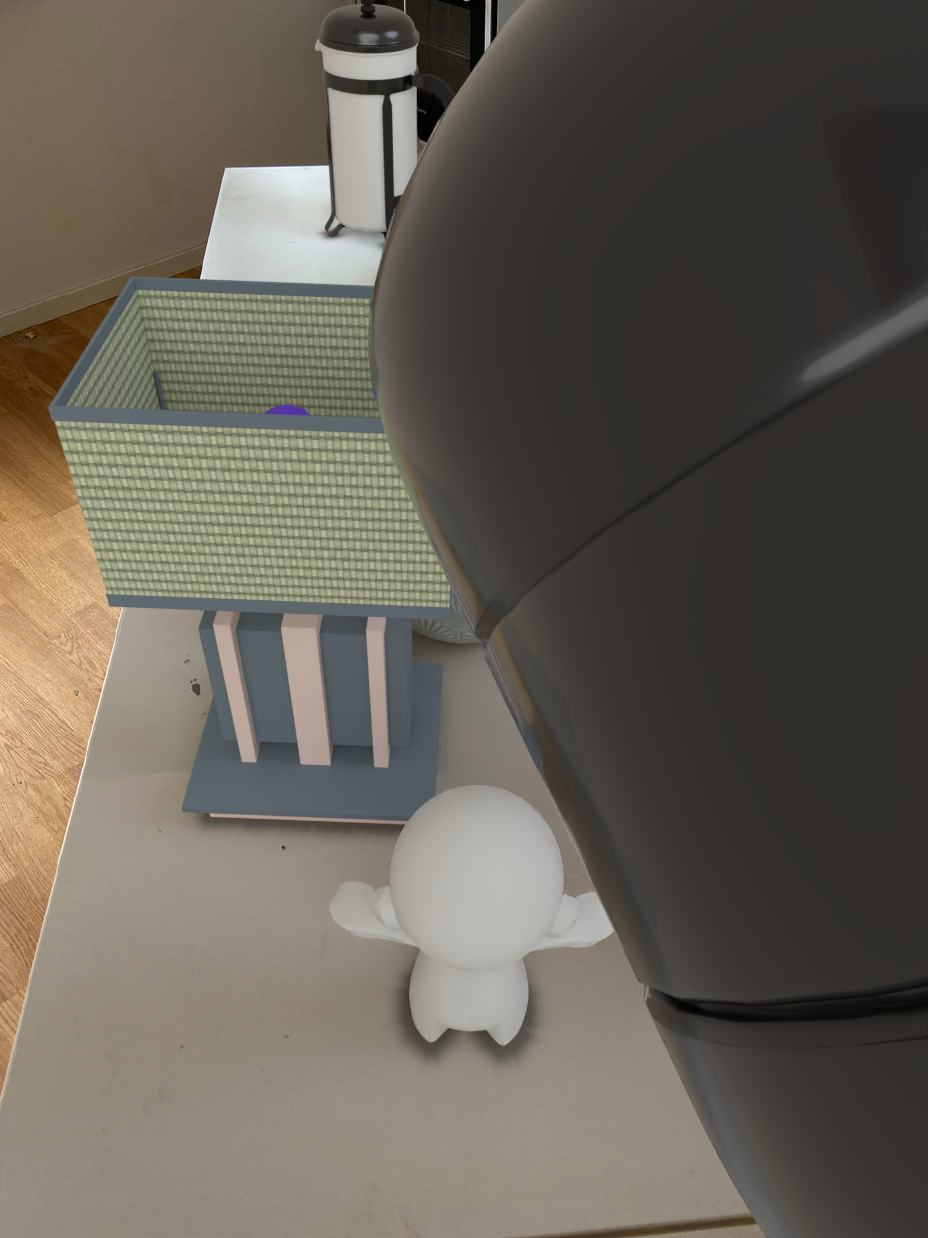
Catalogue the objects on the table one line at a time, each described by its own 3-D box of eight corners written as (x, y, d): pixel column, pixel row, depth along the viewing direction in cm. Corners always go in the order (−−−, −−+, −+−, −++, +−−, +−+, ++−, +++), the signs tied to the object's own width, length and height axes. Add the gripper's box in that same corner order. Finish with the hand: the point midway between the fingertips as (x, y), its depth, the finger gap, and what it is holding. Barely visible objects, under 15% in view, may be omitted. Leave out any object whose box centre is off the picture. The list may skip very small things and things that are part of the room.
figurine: (595, 956, 60) (645, 754, 46) (605, 1097, 54) (665, 912, 40) (344, 944, 60) (319, 739, 46) (325, 1083, 54) (290, 895, 40)
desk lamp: (452, 685, 76) (463, 286, 54) (444, 839, 66) (454, 427, 43) (219, 676, 76) (132, 274, 54) (176, 829, 66) (45, 411, 43)
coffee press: (339, 258, 133) (323, 3, 112) (313, 213, 143) (294, -26, 123) (459, 244, 137) (465, -4, 116) (425, 202, 148) (425, -32, 127)
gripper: (1199, 600, 21) (998, 637, 37) (572, 439, 25) (633, 535, 40) (1091, 931, 21) (936, 827, 37) (484, 719, 25) (578, 707, 40)
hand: (777, 674), depth 38 cm, fingers open, 8 cm apart
